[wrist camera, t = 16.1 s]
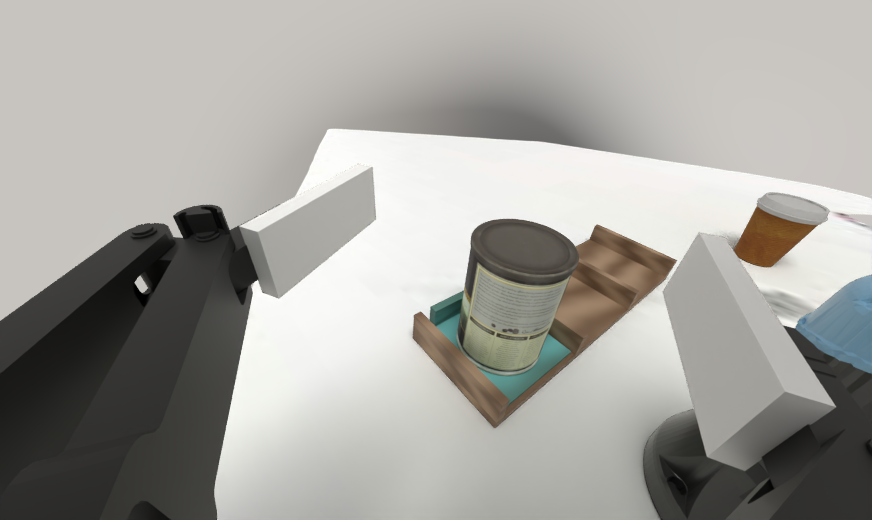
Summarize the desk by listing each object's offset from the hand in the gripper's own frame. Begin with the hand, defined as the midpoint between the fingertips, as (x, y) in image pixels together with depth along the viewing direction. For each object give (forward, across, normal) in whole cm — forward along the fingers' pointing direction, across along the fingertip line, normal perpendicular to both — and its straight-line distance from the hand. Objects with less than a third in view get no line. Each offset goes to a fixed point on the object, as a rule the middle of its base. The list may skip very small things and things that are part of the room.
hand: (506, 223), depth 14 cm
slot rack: (+27, +7, -26) cm, 38 cm away
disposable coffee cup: (+60, +41, -27) cm, 78 cm away
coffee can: (+15, 0, -24) cm, 28 cm away
